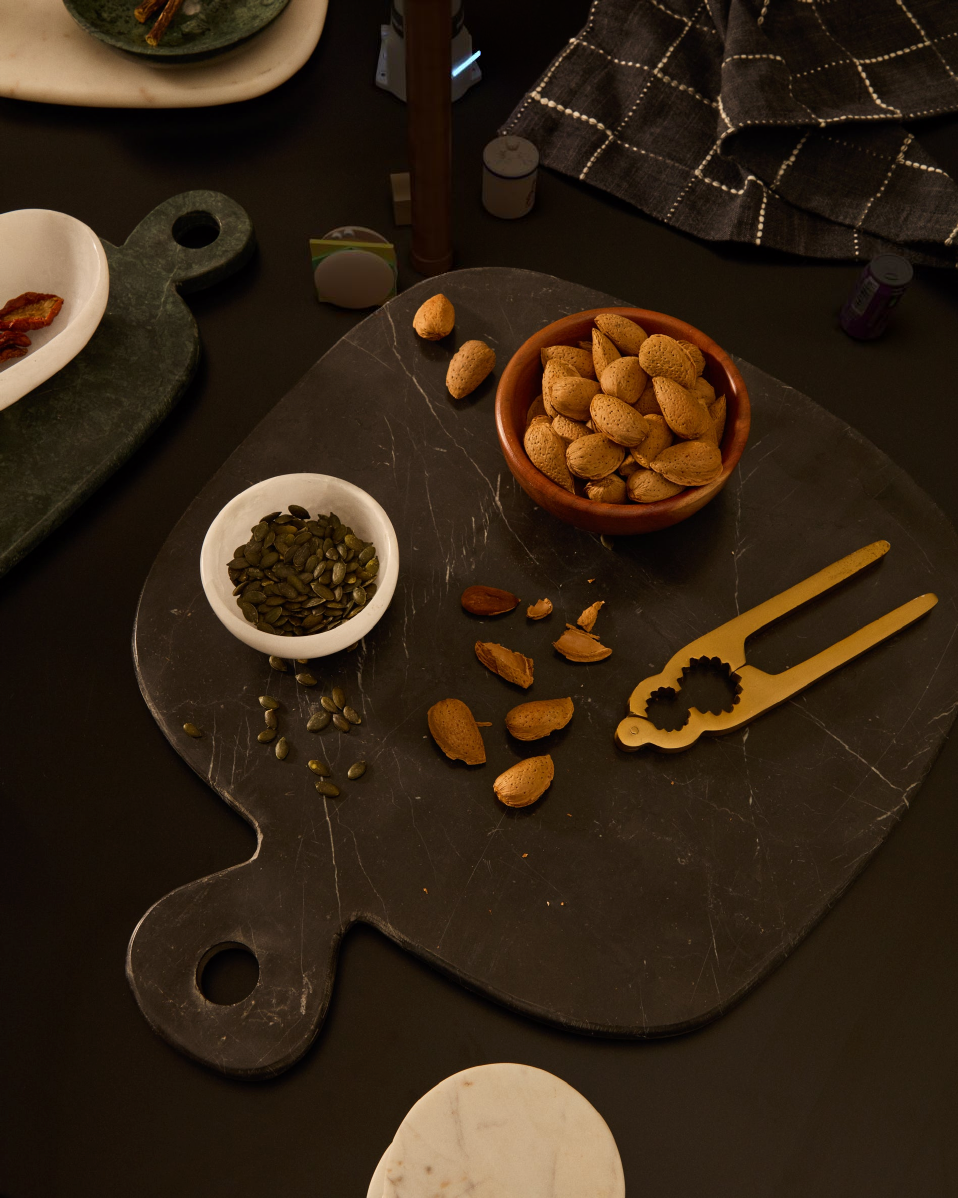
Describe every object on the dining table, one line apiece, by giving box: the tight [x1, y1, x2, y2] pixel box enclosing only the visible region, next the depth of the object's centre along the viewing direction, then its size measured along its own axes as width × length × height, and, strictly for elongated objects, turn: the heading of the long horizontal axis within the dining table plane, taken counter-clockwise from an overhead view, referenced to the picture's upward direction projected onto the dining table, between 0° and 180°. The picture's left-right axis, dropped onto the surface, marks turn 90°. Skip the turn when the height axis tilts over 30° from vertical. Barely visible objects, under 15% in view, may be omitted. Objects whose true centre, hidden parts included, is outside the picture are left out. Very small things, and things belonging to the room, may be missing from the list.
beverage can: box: [838, 252, 914, 341], centre depth 147 cm, size 7×7×12 cm
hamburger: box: [309, 225, 398, 310], centre depth 146 cm, size 12×8×12 cm
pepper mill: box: [402, 0, 454, 277], centre depth 132 cm, size 7×7×50 cm
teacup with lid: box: [481, 135, 541, 220], centre depth 156 cm, size 12×9×12 cm
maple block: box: [389, 172, 412, 226], centre depth 157 cm, size 6×6×5 cm
